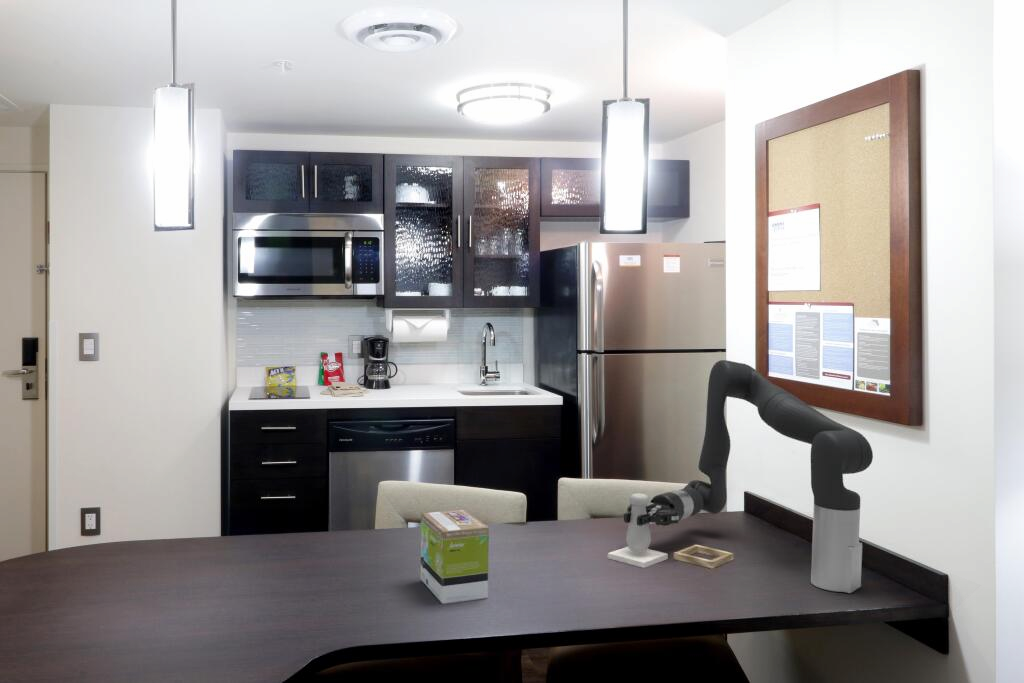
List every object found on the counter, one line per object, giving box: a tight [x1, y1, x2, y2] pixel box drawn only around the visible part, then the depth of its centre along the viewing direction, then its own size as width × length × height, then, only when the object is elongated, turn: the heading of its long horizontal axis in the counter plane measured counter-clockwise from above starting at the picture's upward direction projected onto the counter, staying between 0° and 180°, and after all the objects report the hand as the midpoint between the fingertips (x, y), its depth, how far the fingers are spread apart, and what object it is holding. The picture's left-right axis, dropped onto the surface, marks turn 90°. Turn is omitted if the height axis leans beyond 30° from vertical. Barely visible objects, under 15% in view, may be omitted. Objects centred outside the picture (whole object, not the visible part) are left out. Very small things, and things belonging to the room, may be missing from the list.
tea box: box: [420, 509, 490, 605], centre depth 166 cm, size 15×10×15 cm, turn 23°
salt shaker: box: [625, 492, 652, 552], centre depth 190 cm, size 6×6×13 cm
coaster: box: [607, 546, 669, 569], centre depth 191 cm, size 10×10×1 cm
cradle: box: [673, 544, 734, 570], centre depth 191 cm, size 10×10×2 cm
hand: (632, 519), depth 188 cm, fingers closed on salt shaker, 3 cm apart
